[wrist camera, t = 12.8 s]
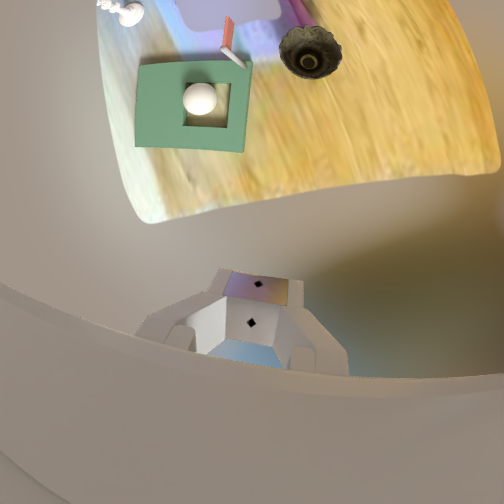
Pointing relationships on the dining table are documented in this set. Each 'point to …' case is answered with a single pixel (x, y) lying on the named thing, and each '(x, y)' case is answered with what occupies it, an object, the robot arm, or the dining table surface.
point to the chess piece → (124, 11)
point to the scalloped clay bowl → (310, 51)
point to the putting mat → (173, 111)
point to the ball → (200, 98)
